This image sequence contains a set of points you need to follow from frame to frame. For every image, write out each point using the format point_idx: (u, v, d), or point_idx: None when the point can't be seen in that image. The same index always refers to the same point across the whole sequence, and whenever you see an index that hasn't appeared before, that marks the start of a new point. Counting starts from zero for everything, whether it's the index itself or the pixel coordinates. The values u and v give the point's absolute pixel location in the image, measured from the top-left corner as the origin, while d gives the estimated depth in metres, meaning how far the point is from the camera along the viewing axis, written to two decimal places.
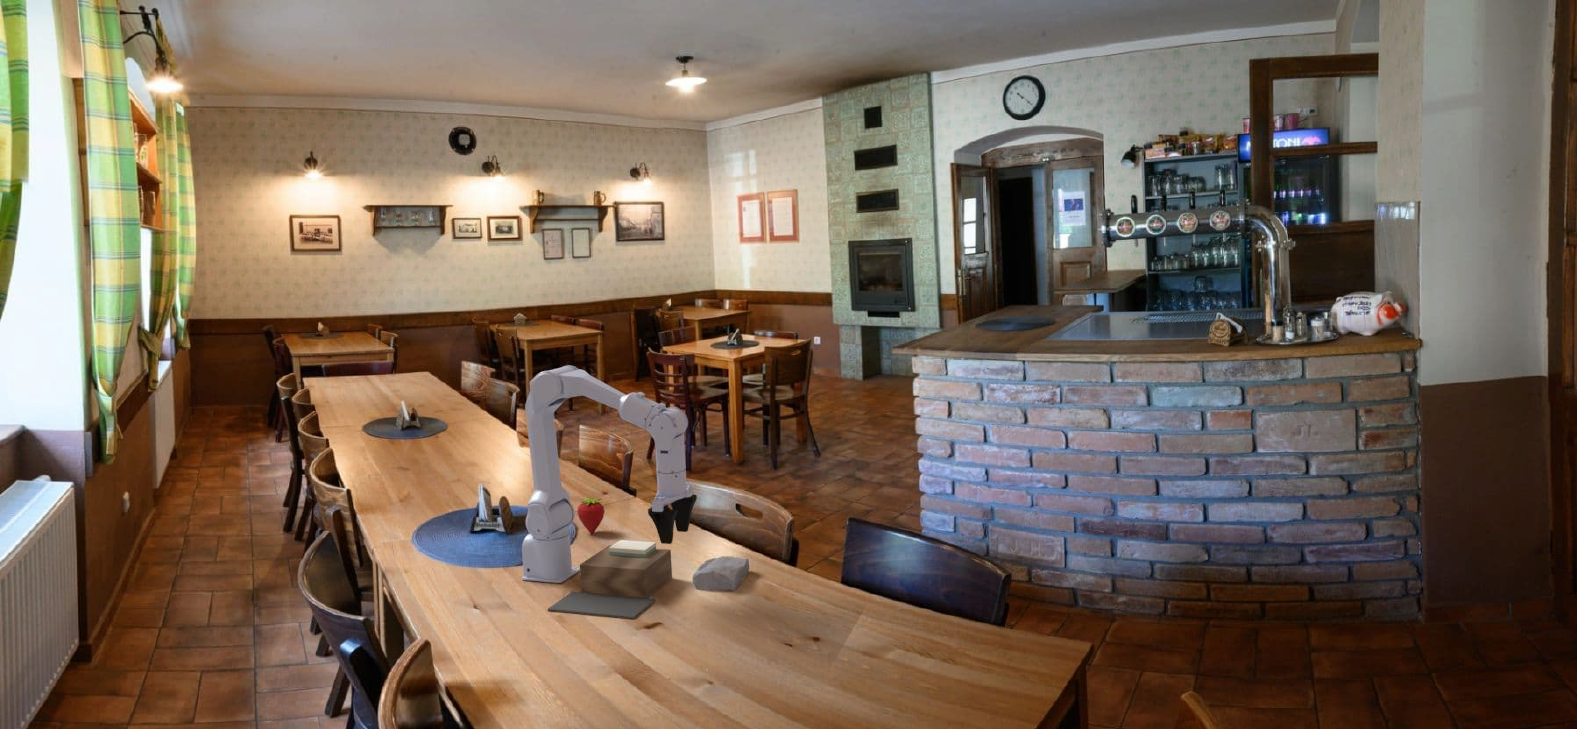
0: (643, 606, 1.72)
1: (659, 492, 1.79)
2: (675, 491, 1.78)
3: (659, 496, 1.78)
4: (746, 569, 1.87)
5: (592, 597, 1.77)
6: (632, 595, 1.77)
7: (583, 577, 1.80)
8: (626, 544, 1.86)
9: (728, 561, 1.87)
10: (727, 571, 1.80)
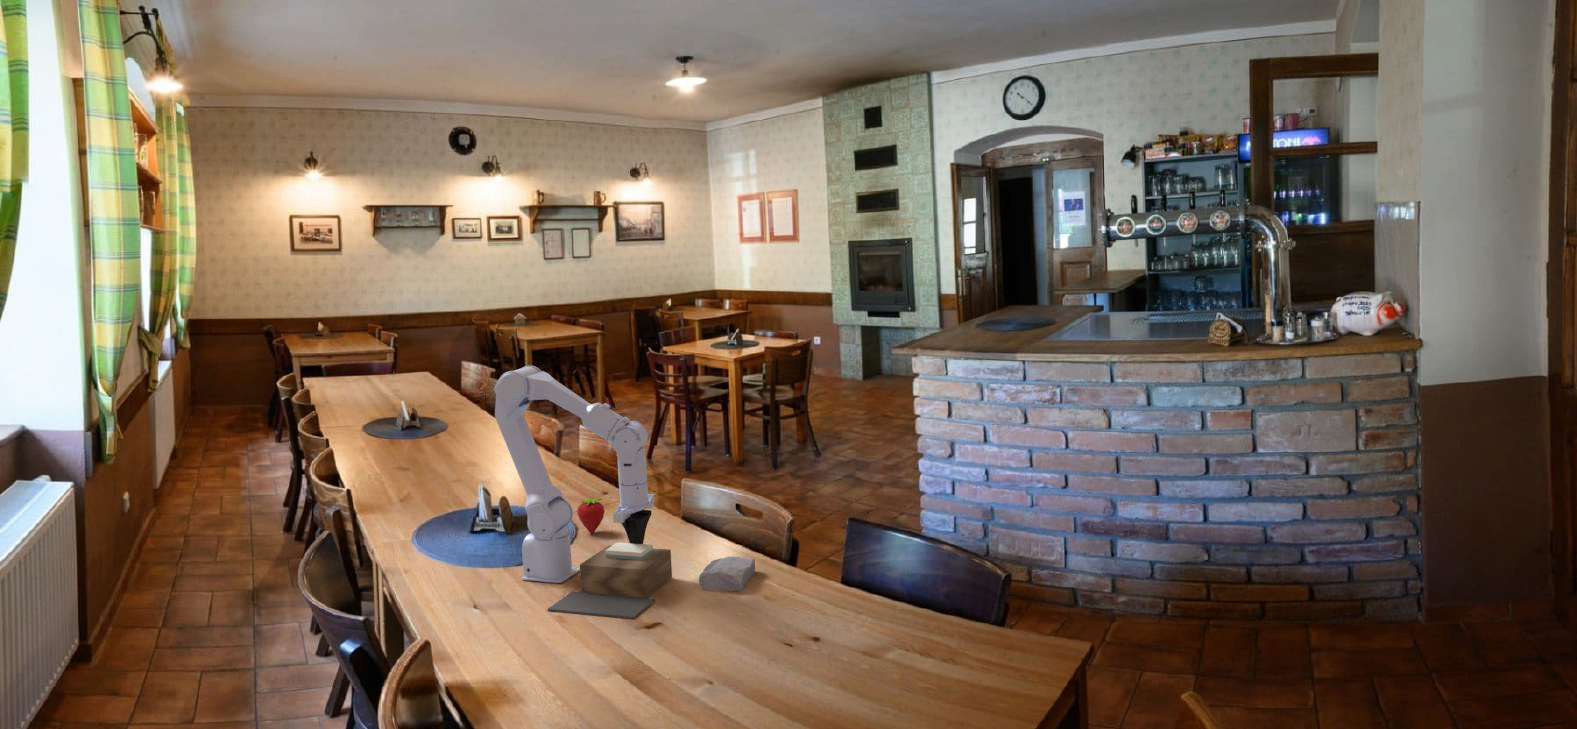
0: (643, 606, 1.72)
1: (621, 503, 1.85)
2: (637, 503, 1.84)
3: (621, 507, 1.84)
4: (752, 569, 1.86)
5: (592, 597, 1.77)
6: (632, 595, 1.77)
7: (583, 577, 1.80)
8: (623, 546, 1.85)
9: (734, 561, 1.87)
10: (734, 571, 1.79)
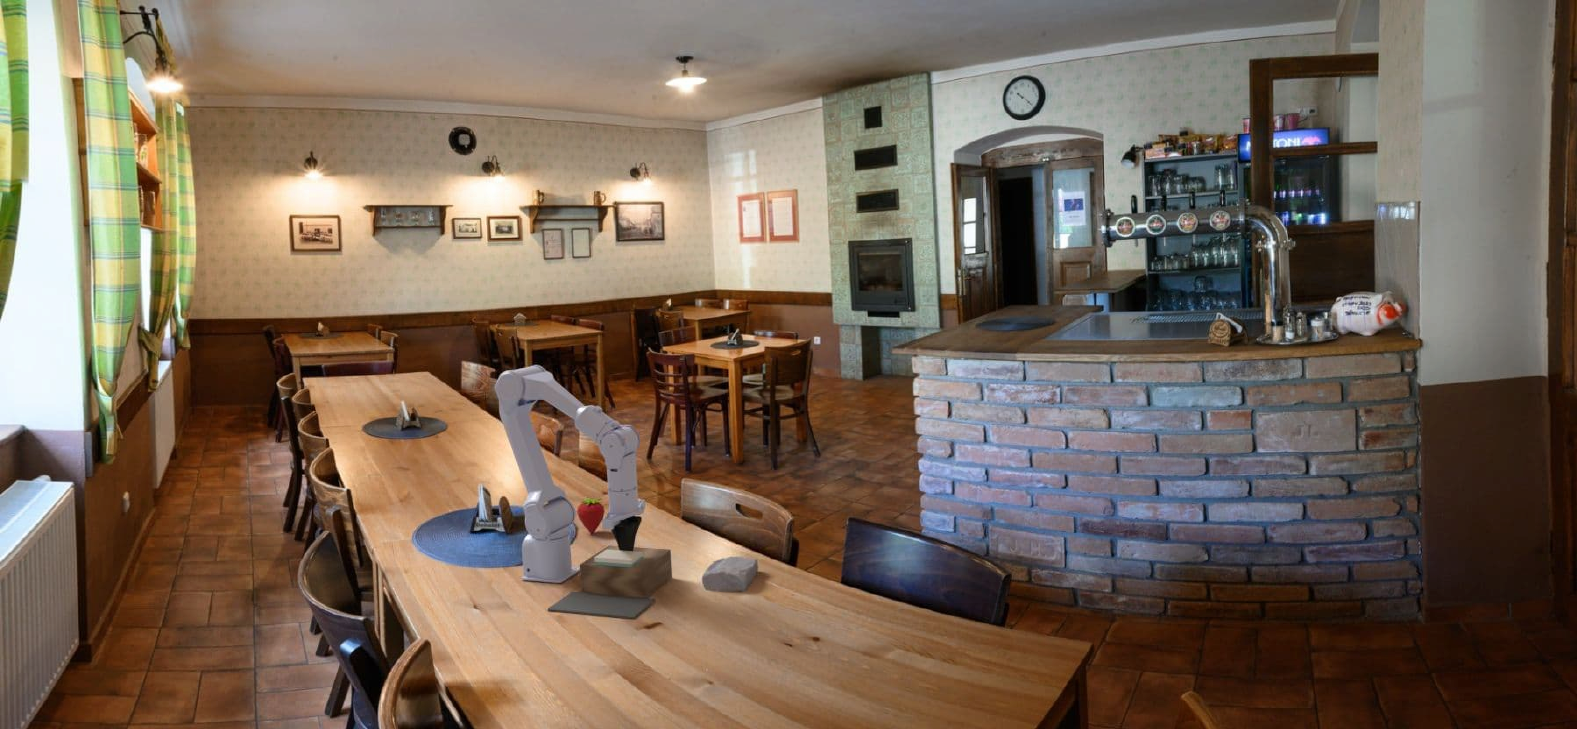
0: (643, 606, 1.72)
1: (610, 510, 1.81)
2: (626, 509, 1.80)
3: (610, 514, 1.80)
4: (755, 569, 1.86)
5: (592, 597, 1.77)
6: (632, 595, 1.77)
7: (583, 577, 1.80)
8: (612, 554, 1.81)
9: (737, 561, 1.87)
10: (737, 571, 1.79)
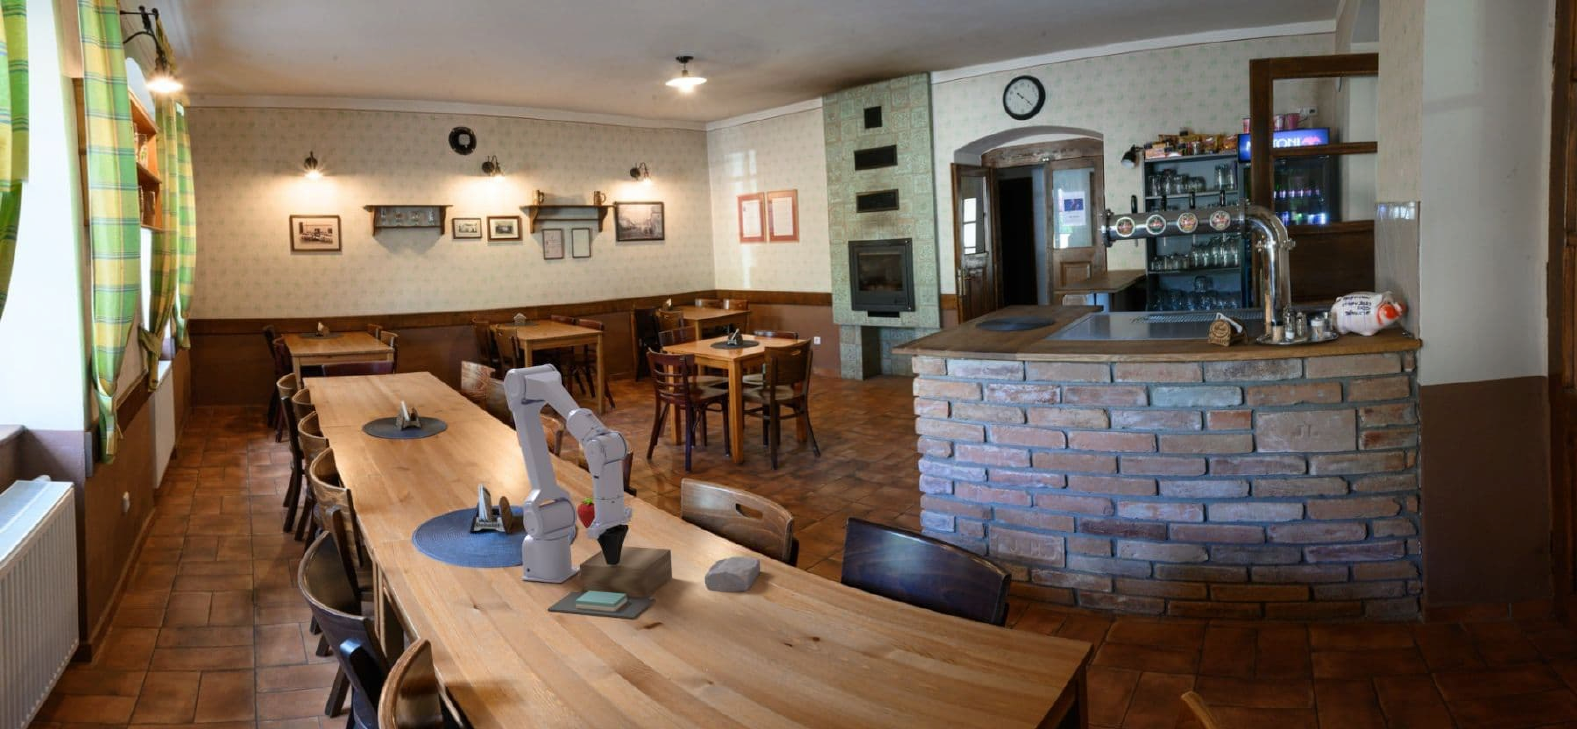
0: (643, 606, 1.72)
1: (596, 518, 1.75)
2: (612, 517, 1.74)
3: (596, 522, 1.75)
4: (757, 569, 1.86)
5: None
6: (632, 595, 1.77)
7: (583, 577, 1.80)
8: None
9: (739, 561, 1.86)
10: (740, 571, 1.79)
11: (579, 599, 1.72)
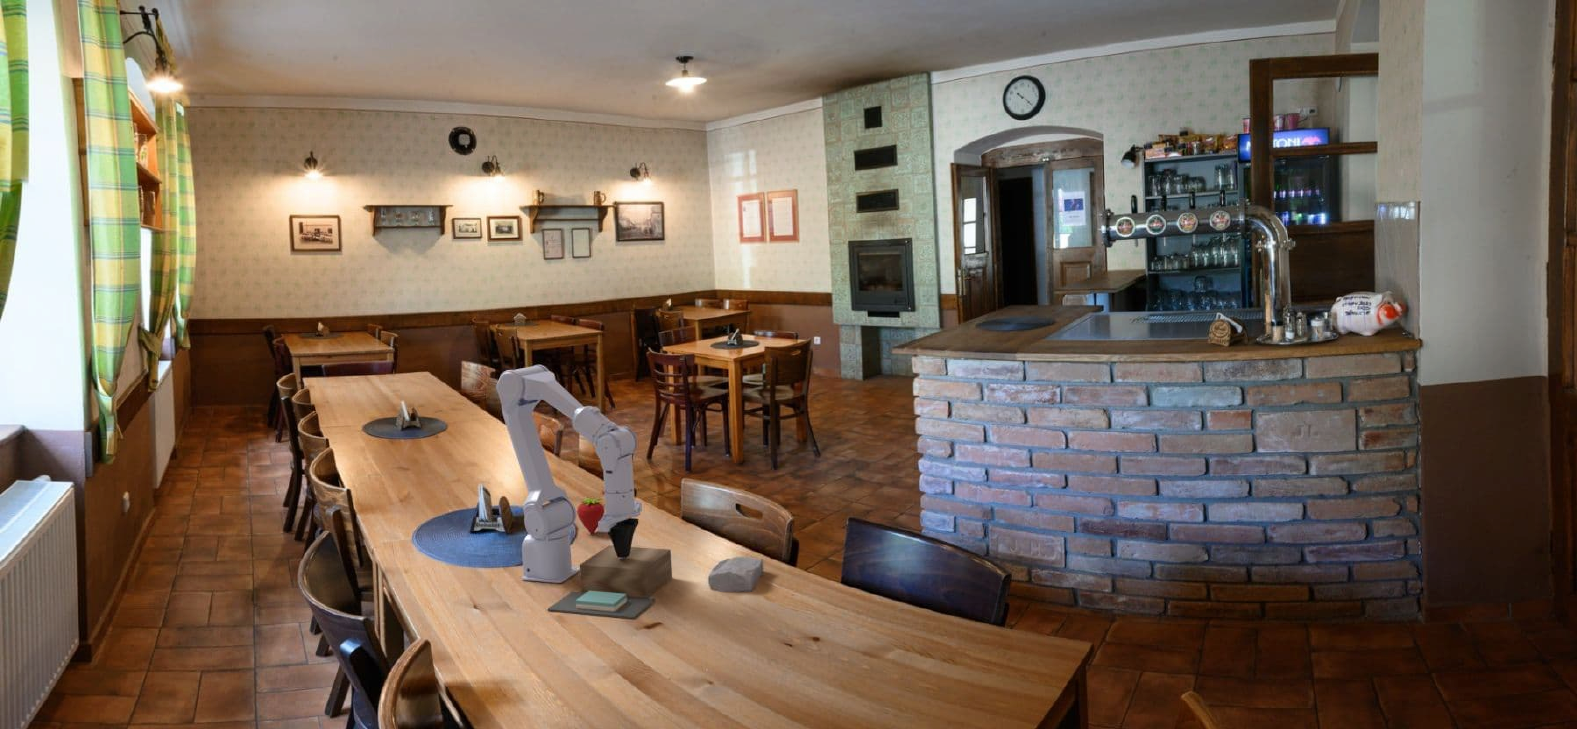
0: (643, 606, 1.72)
1: (607, 512, 1.79)
2: (623, 511, 1.78)
3: (607, 516, 1.79)
4: (760, 569, 1.86)
5: None
6: (632, 595, 1.77)
7: (583, 577, 1.80)
8: None
9: (743, 562, 1.86)
10: (743, 572, 1.79)
11: (579, 599, 1.72)
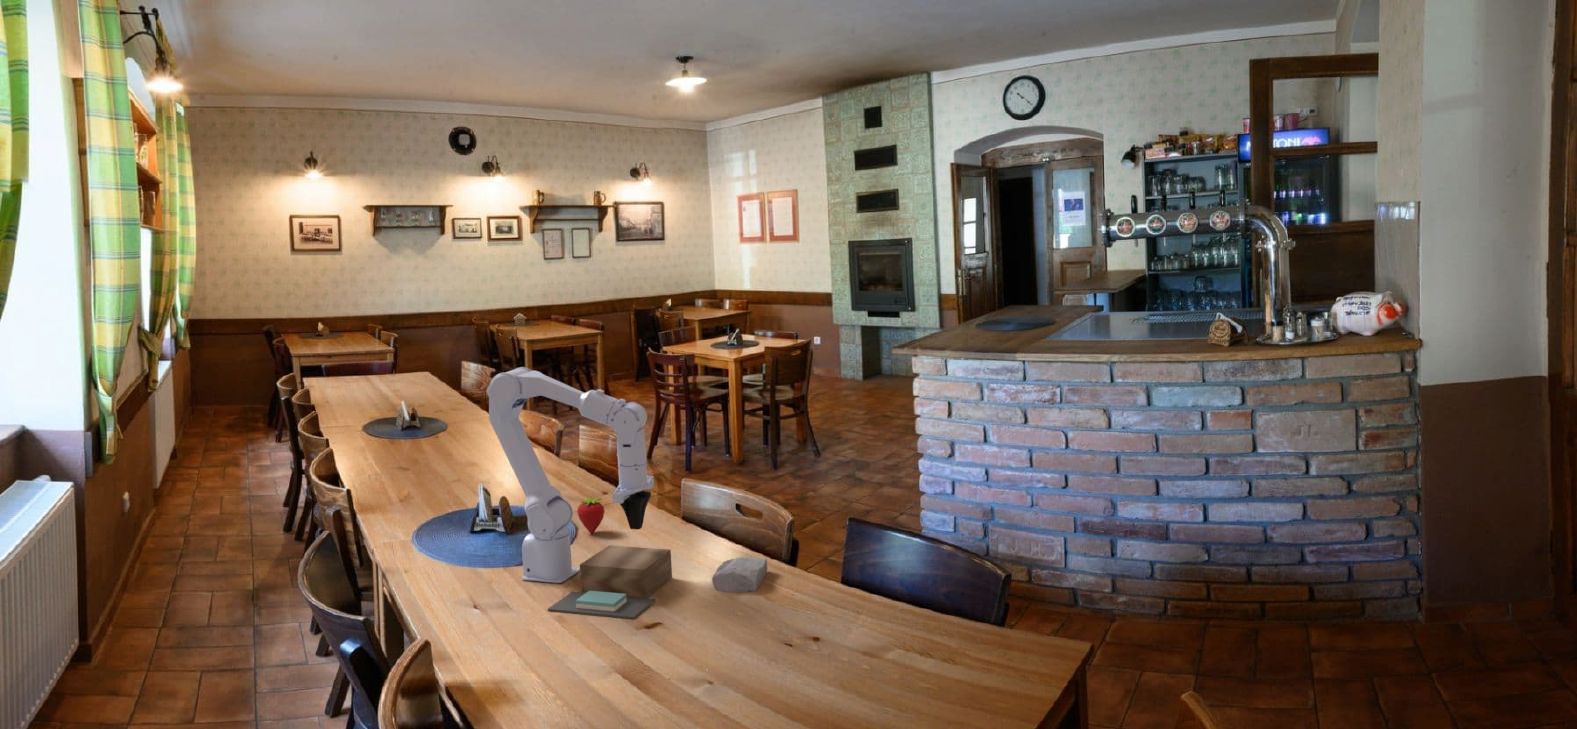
0: (643, 606, 1.72)
1: (620, 484, 1.84)
2: (636, 483, 1.83)
3: (620, 488, 1.84)
4: (764, 569, 1.86)
5: None
6: (632, 595, 1.77)
7: (583, 577, 1.80)
8: None
9: (747, 562, 1.86)
10: (748, 572, 1.79)
11: (579, 599, 1.72)
